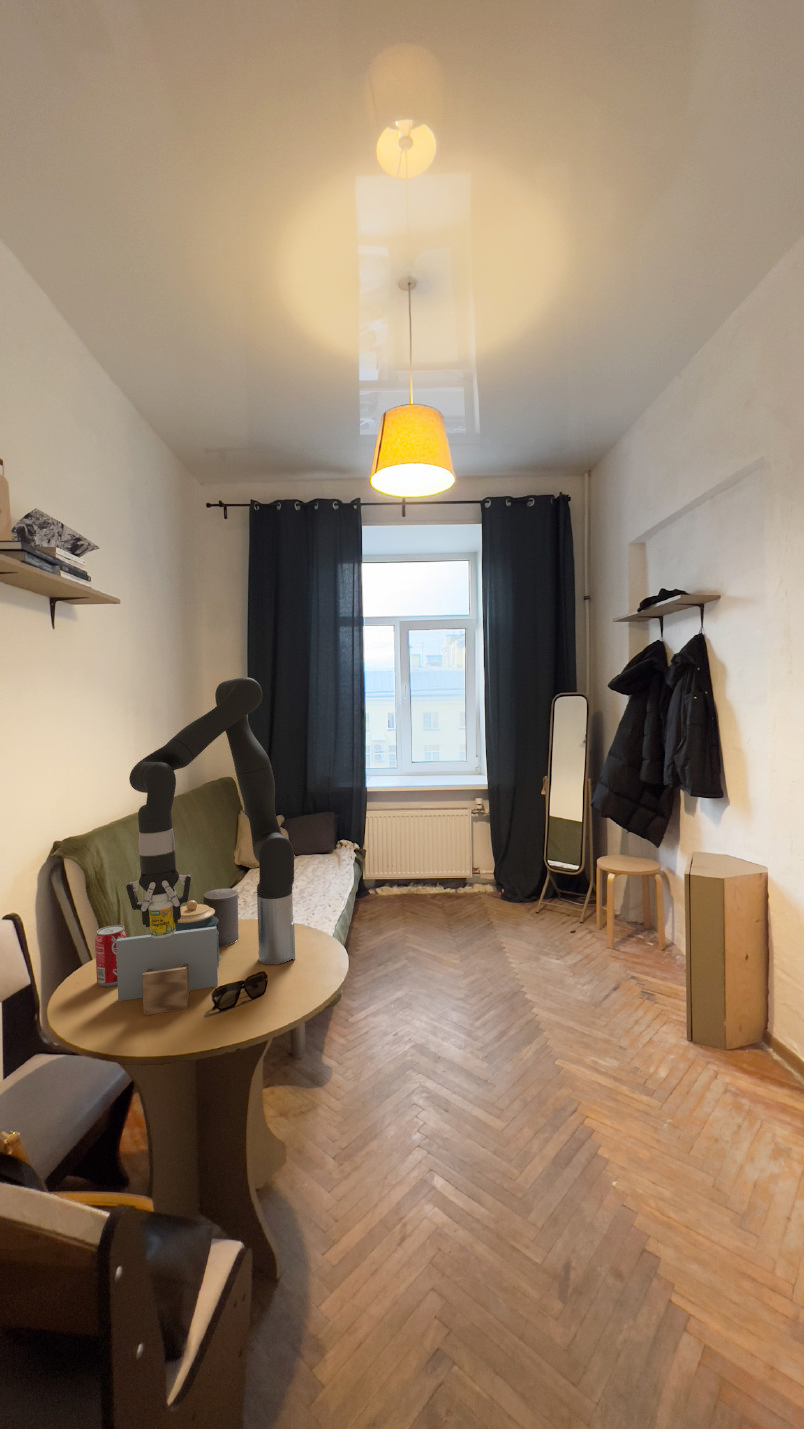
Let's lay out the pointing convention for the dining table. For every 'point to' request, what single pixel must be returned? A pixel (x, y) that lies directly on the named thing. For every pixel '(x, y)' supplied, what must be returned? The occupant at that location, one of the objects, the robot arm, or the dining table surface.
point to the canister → (198, 919)
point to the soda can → (107, 954)
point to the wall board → (166, 959)
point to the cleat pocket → (165, 990)
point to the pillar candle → (224, 913)
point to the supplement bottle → (161, 916)
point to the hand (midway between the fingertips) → (162, 923)
